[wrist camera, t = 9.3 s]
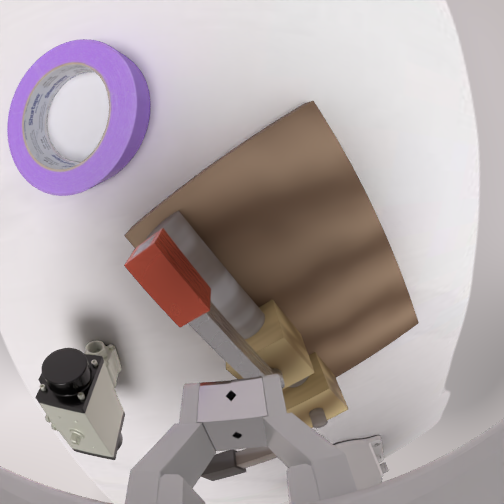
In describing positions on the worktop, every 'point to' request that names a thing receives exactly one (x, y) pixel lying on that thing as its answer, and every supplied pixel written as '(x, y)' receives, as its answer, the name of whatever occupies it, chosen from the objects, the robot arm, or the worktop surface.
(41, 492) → the robot arm
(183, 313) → the red lever
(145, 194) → the worktop surface
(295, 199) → the pipe board
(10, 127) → the masking tape
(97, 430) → the pneumatic valve
